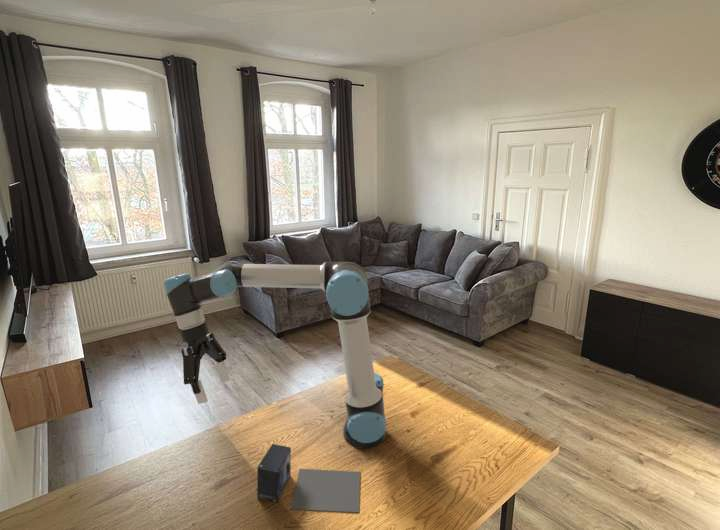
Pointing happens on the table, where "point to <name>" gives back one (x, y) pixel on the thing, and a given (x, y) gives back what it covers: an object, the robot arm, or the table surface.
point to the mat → (327, 491)
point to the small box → (273, 473)
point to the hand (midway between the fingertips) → (214, 391)
